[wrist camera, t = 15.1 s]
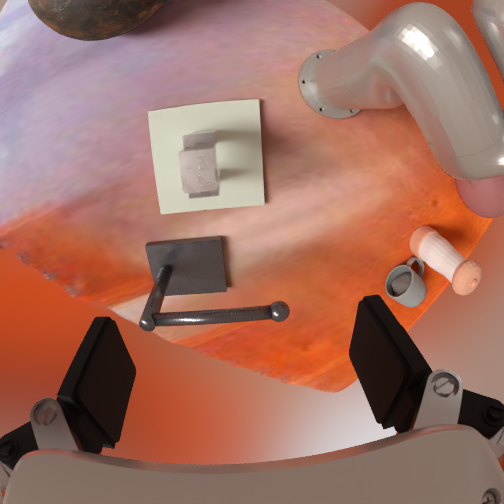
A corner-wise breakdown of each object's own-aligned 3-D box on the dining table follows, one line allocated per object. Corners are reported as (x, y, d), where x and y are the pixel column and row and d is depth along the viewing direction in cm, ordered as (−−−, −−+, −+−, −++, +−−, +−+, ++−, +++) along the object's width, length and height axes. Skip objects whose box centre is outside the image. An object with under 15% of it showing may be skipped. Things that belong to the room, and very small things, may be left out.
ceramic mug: (399, 298, 62) (414, 316, 55) (379, 285, 59) (395, 304, 53) (426, 263, 58) (444, 279, 52) (408, 247, 56) (427, 263, 49)
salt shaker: (406, 255, 57) (456, 304, 39) (413, 224, 53) (470, 267, 36) (429, 255, 57) (479, 300, 40) (437, 225, 54) (492, 266, 37)
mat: (258, 99, 42) (259, 99, 41) (263, 203, 50) (264, 204, 49) (149, 111, 41) (147, 111, 40) (162, 212, 49) (161, 214, 48)
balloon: (444, 112, 43) (497, 119, 29) (490, 161, 48) (536, 178, 34) (418, 174, 49) (468, 196, 35) (467, 214, 53) (510, 241, 40)
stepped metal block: (217, 130, 43) (211, 133, 30) (221, 180, 46) (217, 204, 34) (192, 132, 43) (176, 137, 30) (197, 182, 46) (184, 207, 34)
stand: (273, 231, 52) (292, 283, 36) (274, 283, 57) (290, 344, 41) (147, 242, 51) (116, 295, 36) (159, 292, 56) (138, 353, 40)
